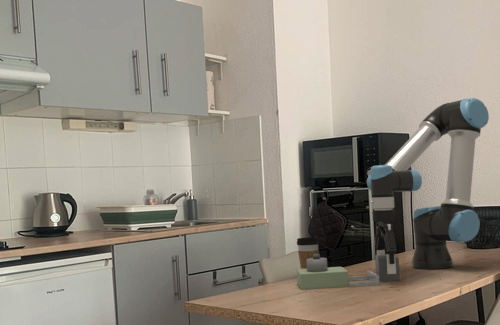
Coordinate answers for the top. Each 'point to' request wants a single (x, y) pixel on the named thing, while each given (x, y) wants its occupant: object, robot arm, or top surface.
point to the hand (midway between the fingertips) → (386, 271)
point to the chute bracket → (371, 276)
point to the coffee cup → (307, 249)
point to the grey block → (382, 269)
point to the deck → (321, 275)
